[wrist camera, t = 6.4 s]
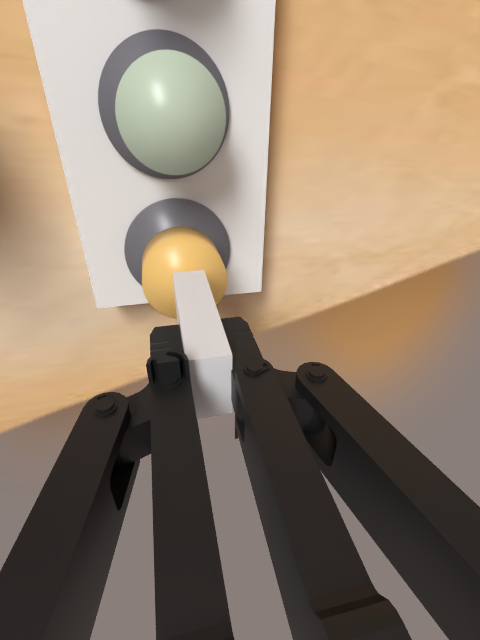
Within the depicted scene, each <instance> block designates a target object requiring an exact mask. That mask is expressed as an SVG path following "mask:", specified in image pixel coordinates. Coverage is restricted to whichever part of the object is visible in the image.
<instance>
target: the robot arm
mask: <svg viewBox="0 0 480 640" xmlns="http://www.w3.org/2000/svg"><path fill="white" fill-rule="evenodd" d="M172 274H173V284H174V294H175V304H176V314H177V323H178V325H170V326H162V327H155V328H154V330H153V331H152V333H151V334H150V351H151V352H150V355H151V357H150V358H149V359H148V360H147V364H146V367H147V373H148V379H149V384H148V385H147V386H146V387H145V388H144V389H143V390H141V391H140V392H138V393H136V394H134V395H131V396H129V397H125V396H124V395H122V394H120V393H116V392H107V393H102V394H100V395H97V396H95V397H93V398H92V399H91V400H89V401H88V402H87V403H86V405H85V406H84V408H83V409H82V411H81V414H80V415H79V417H78V419H77V421H76V423H75V425H74V427H73V429H72V431H71V433H70V435H69V437H68V439H67V441H66V443H65V445H64V447H63V449H62V451H61V453H60V455H59V457H58V459H57V461H56V463H55V465H54V467H53V469H52V471H51V473H50V475H49V477H48V479H47V481H46V482H45V484H44V486H43V488H42V490H41V492H40V495H39V497H38V498H37V500H36V502H35V504H34V506H33V508H32V510H31V512H30V514H29V516H28V518H27V520H26V522H25V524H24V526H23V528H22V530H21V532H20V534H19V536H18V538H17V540H16V542H15V544H14V546H13V548H12V550H11V552H10V554H9V556H8V558H7V559H6V562H5V563H4V565H3V567H2V569H1V571H0V640H90V637H91V633H92V630H93V626H94V623H95V619H96V616H97V612H98V609H99V605H100V601H101V598H102V594H103V591H104V587H105V584H106V580H107V577H108V573H109V570H110V566H111V562H112V559H113V555H114V552H115V548H116V545H117V541H118V538H119V534H120V531H121V527H122V523H123V520H124V516H125V513H126V509H127V506H128V502H129V499H130V495H131V492H132V488H133V485H134V481H135V478H136V474H137V470H138V467H139V463H140V459H141V458H143V457H145V456H147V455H149V454H151V457H152V458H151V460H152V496H153V497H152V498H153V535H154V572H155V610H156V611H155V612H156V640H234V637H233V632H232V627H231V621H230V615H229V609H228V603H227V597H226V591H225V585H224V579H223V574H222V567H221V561H220V555H219V549H218V543H217V537H216V531H215V526H214V519H213V513H212V507H211V501H210V495H209V489H208V483H207V477H206V471H205V465H204V459H203V453H202V446H201V440H200V435H199V428H198V423H197V419H199V418H205V417H211V416H217V415H223V414H229V413H232V404H233V408H234V411H235V439H237V438H238V437H239V441H240V444H241V448H242V452H243V455H244V459H245V463H246V467H247V470H248V474H249V477H250V481H251V485H252V489H253V492H254V496H255V500H256V504H257V507H258V511H259V515H260V519H261V522H262V526H263V530H264V533H265V537H266V541H267V544H268V548H269V552H270V556H271V559H272V563H273V567H274V571H275V574H276V578H277V582H278V586H279V589H280V593H281V596H282V600H283V604H284V608H285V611H286V615H287V619H288V623H289V626H290V630H291V634H292V638H293V640H412V639H411V637H410V635H409V633H408V631H407V629H406V627H405V625H404V623H403V621H402V619H401V618H400V616H399V614H398V612H397V610H396V609H395V607H394V606H393V605H392V604H391V602H390V601H389V600H388V599H386V598H385V597H383V596H381V595H380V594H379V593H378V592H377V591H376V589H375V588H374V586H373V584H372V582H371V580H370V578H369V576H368V574H367V572H366V569H365V567H364V565H363V563H362V560H361V558H360V556H359V554H358V552H357V550H356V547H355V545H354V543H353V541H352V539H351V537H350V534H349V532H348V530H347V528H346V526H345V523H344V521H343V519H342V517H341V515H340V512H339V510H338V508H337V506H336V504H335V502H334V499H333V497H332V495H331V493H330V491H329V489H328V486H327V484H326V482H325V480H324V478H323V475H322V473H323V474H324V475H325V477H326V478H327V479H328V481H329V482H330V483H331V485H332V486H333V487H334V489H335V490H336V491H337V493H338V494H339V495H340V497H341V498H342V499H343V501H344V502H345V503H346V504H347V506H348V507H349V508H350V510H351V511H352V512H353V514H354V515H355V516H356V518H357V519H358V520H359V522H360V523H361V524H362V525H363V527H364V528H365V529H366V531H367V532H368V533H369V535H370V536H371V537H372V539H373V540H374V541H375V543H376V544H377V545H378V547H379V548H380V549H381V551H382V552H383V553H384V554H385V556H386V557H387V558H388V559H389V561H390V562H391V564H392V565H393V566H394V568H395V569H396V570H397V572H398V573H399V574H400V575H401V577H402V578H403V579H404V581H405V582H406V583H407V585H408V586H409V587H410V589H411V590H412V591H413V593H414V594H415V595H416V597H417V598H418V599H419V601H420V602H421V603H422V605H423V606H424V607H425V609H426V610H427V611H428V612H429V614H430V615H431V616H432V618H433V619H434V620H435V622H436V623H437V624H438V626H439V627H440V628H441V630H442V631H443V632H444V634H445V635H446V636H447V637H448V638H449V640H480V507H479V506H478V505H477V504H476V503H475V502H473V500H471V499H470V498H469V497H468V496H467V495H466V494H465V493H464V492H463V491H462V490H461V489H460V488H458V487H457V486H456V485H455V484H454V483H453V482H452V481H451V480H450V479H449V478H448V477H447V476H446V475H445V474H444V473H442V472H441V471H440V470H439V469H438V468H437V467H436V466H435V465H434V464H433V463H432V462H431V461H430V460H429V459H428V458H426V457H425V456H424V455H423V454H422V453H421V452H420V451H419V450H418V449H417V448H416V447H415V446H414V445H413V444H412V443H410V442H409V441H408V440H407V439H406V438H405V437H404V436H403V435H402V434H401V433H400V432H399V431H398V430H397V429H395V428H394V427H393V426H392V425H391V424H390V423H389V422H388V421H387V420H386V419H385V418H384V417H383V416H382V415H380V414H379V413H378V412H377V411H376V410H375V409H374V408H373V407H372V406H371V405H370V404H369V403H368V402H367V401H366V400H364V399H363V398H362V397H361V396H360V395H359V394H358V393H357V392H356V391H355V390H354V389H353V388H352V387H350V385H348V384H347V383H346V382H345V381H344V380H343V379H342V378H341V377H340V376H339V375H338V374H337V373H336V372H334V371H333V370H332V369H331V368H330V367H328V366H327V365H324V364H321V363H317V362H308V363H304V364H302V365H301V366H299V368H298V369H297V372H288V371H280V370H277V369H274V368H273V366H272V365H271V364H270V363H269V362H268V361H266V360H264V359H263V357H262V355H261V353H260V350H259V348H258V346H257V344H256V341H255V339H254V338H253V334H252V332H251V330H250V328H249V325H248V323H247V322H246V321H244V320H243V319H242V318H241V317H233V318H225V319H220V316H219V313H218V310H217V307H216V304H215V301H214V298H213V295H212V292H211V289H210V286H209V283H208V280H207V277H206V274H205V271H204V270H198V271H187V272H175V273H172ZM320 470H321V471H322V473H321V471H320Z"/></svg>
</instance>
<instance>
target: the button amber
mask: <svg viewBox="0 0 480 640" xmlns="http://www.w3.org/2000/svg"><path fill="white" fill-rule="evenodd" d="M198 270H204V271H205V274H206V277H207V280H208V283H209V286H210V289H211V292H212V295H213V298H214V301H215V304H216V306H217V304H218V303H219V302H220V301H221V299H222V298H223V296H224V294H225V291H226V288H227V272H226V269H225V266H224V264H223V261H222V259H221V257H220V255H219V253H218V251H217V248H216V246H215V245H214V243H213V242H212V240H211V239H210V238H209V237H208V236H207V235H205V234H204V233H203V232H201V231H199V230H197V229H194V228H191V227H185V226H177V227H171V228H167V229H165V230H163V231H161V232H159V233H158V234H156V235H155V236H154V237H153V238H152V239H151V240H150V241H149V242H148V244H147V245H146V247H145V250H144V252H143V256H142V288H143V292H144V295H145V297H146V299H147V301H148V302H149V303H150V305H151V306H152V307H153V308H154V309H155V310H157V311H158V312H160V313H161V314H163V315H165V316H168V317H171V318H176V319H177V314H176V304H175V294H174V284H173V274H172V273H175V272H187V271H198Z"/></svg>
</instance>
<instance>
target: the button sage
mask: <svg viewBox="0 0 480 640" xmlns="http://www.w3.org/2000/svg"><path fill="white" fill-rule="evenodd" d="M115 113H116V120H117V125H118V128H119V131H120V134H121V136H122V139H123V141H124V142H125V144H126V146H127V147H128V149H129V150H130V151H131V153H132V154H133V155H134V156H135V157H136V158H137V159H138V160H139V161H140V162H141V163H143V164H144V165H145V166H147V167H149V168H150V169H152V170H154V171H157V172H159V173H163V174H167V175H184V174H188V173H191V172H194V171H196V170H198V169H200V168H202V167H203V166H204V165H205V164H207V163H208V162H209V161H210V160H211V159H212V158H213V156H214V155H215V154H216V152H217V150H218V149H219V147H220V145H221V142H222V140H223V136H224V132H225V126H226V109H225V104H224V99H223V96H222V93H221V91H220V88H219V86H218V84H217V82H216V81H215V79H214V77H213V76H212V75H211V73H210V72H209V71H208V70H207V69H206V68H205V66H204V65H202V64H201V63H200V62H199V61H198V60H196V59H194V58H193V57H191V56H189V55H187V54H185V53H182V52H179V51H175V50H157V51H152V52H149V53H147V54H144V55H143V56H141V57H140V58H138V59H137V60H136V61H134V62H133V63H132V64H131V65H130V66H129V68H128V69H127V70H126V71H125V73H124V75H123V76H122V78H121V81H120V83H119V86H118V89H117V93H116V100H115Z"/></svg>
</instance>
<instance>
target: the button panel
mask: <svg viewBox="0 0 480 640" xmlns="http://www.w3.org/2000/svg"><path fill="white" fill-rule="evenodd" d="M22 1H23V5H24V9H25V13H26V17H27V21H28V25H29V29H30V34H31V38H32V42H33V46H34V50H35V54H36V58H37V62H38V66H39V71H40V75H41V79H42V83H43V87H44V91H45V95H46V99H47V104H48V108H49V112H50V116H51V120H52V124H53V128H54V132H55V136H56V141H57V145H58V149H59V153H60V157H61V161H62V165H63V169H64V174H65V178H66V182H67V186H68V190H69V194H70V198H71V202H72V207H73V211H74V215H75V219H76V223H77V227H78V231H79V235H80V239H81V244H82V248H83V252H84V256H85V260H86V264H87V268H88V272H89V277H90V281H91V285H92V289H93V293H94V297H95V301H96V305H97V308H105V307H115V306H125V305H135V304H144V303H149V302H148V301H147V299H146V297H145V295H144V292H143V288H142V256H143V252H144V250H145V247H146V245H147V244H148V242H149V241H150V240H151V239H152V238H153V237H154V236H155V235H156V234H158V233H159V232H161V231H163V230H165V229H167V228H171V227H177V226H185V227H191V228H194V229H197V230H199V231H201V232H203V233H204V234H205V235H207V236H208V237H209V238H210V239H211V240H212V242H213V243H214V245H215V246H216V248H217V251H218V253H219V255H220V257H221V259H222V261H223V264H224V266H225V269H226V272H227V288H226V291H225V294H224V295H232V294H242V293H252V292H261V286H262V266H263V245H264V225H265V205H266V185H267V165H268V144H269V124H270V104H271V84H272V64H273V44H274V23H275V3H276V0H22ZM157 50H175V51H179V52H182V53H185V54H187V55H189V56H191V57H193V58H194V59H196V60H198V61H199V62H200V63H201V64H202V65H204V66H205V68H206V69H207V70H208V71H209V72H210V73H211V75H212V76H213V77H214V79H215V81H216V82H217V84H218V86H219V88H220V91H221V93H222V96H223V99H224V104H225V109H226V126H225V132H224V136H223V140H222V142H221V145H220V147H219V149H218V150H217V152H216V154H215V155H214V156H213V158H212V159H211V160H210V161H209V162H208V163H207V164H205V165H204V166H203V167H202V168H200V169H198V170H196V171H194V172H191V173H188V174H184V175H167V174H163V173H159V172H157V171H154V170H152V169H150V168H149V167H147V166H145V165H144V164H143V163H141V162H140V161H139V160H138V159H137V158H136V157H135V156H134V155H133V154H132V153H131V151H130V150H129V149H128V147H127V146H126V144H125V142H124V141H123V139H122V136H121V134H120V131H119V128H118V125H117V120H116V113H115V100H116V93H117V89H118V86H119V83H120V81H121V78H122V76H123V75H124V73H125V71H126V70H127V69H128V68H129V66H130V65H131V64H132V63H133V62H134V61H136V60H137V59H138V58H140V57H141V56H143V55H144V54H147V53H149V52H152V51H157Z"/></svg>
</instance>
